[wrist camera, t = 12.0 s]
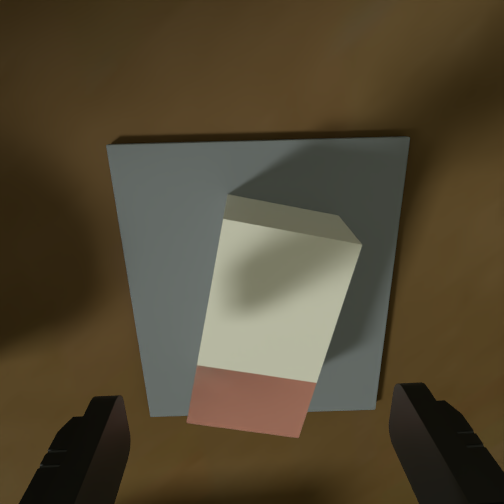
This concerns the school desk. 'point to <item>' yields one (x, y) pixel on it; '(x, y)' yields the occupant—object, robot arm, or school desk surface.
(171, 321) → the mat
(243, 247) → the white rectangular block
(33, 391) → the school desk surface
